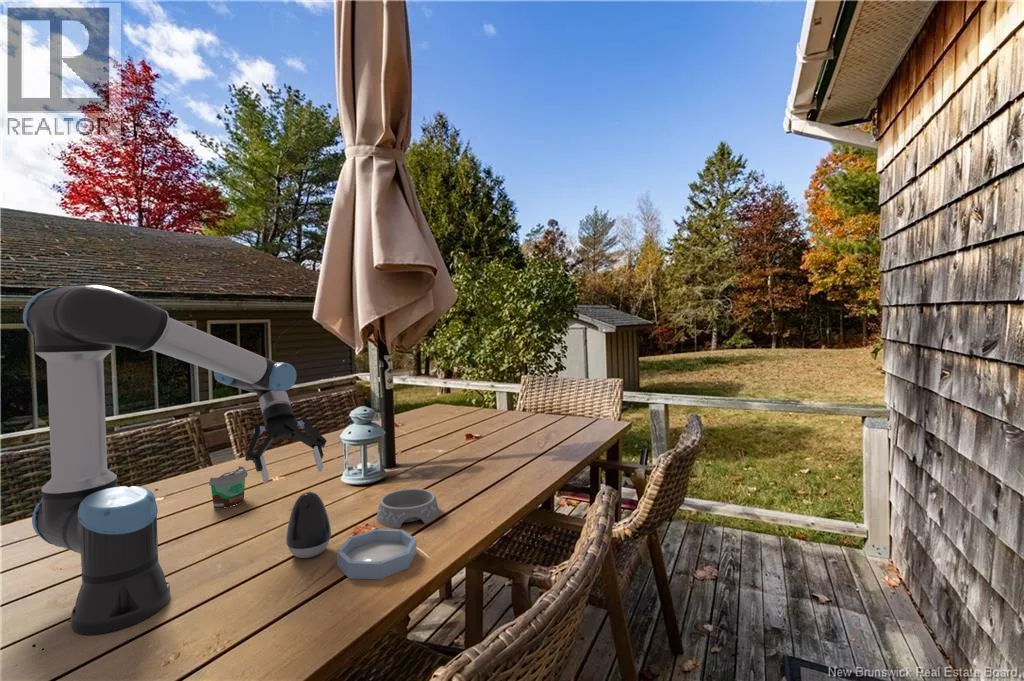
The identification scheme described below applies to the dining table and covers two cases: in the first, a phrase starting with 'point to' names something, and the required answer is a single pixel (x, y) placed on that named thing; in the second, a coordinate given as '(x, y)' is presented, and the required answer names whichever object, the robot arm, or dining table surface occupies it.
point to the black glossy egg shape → (308, 527)
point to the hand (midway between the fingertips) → (294, 474)
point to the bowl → (376, 554)
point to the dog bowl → (407, 507)
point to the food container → (228, 488)
